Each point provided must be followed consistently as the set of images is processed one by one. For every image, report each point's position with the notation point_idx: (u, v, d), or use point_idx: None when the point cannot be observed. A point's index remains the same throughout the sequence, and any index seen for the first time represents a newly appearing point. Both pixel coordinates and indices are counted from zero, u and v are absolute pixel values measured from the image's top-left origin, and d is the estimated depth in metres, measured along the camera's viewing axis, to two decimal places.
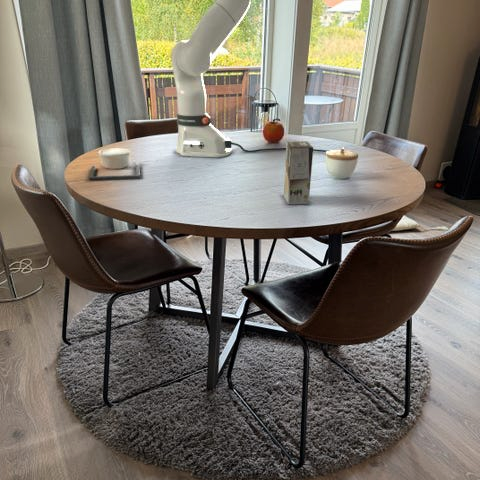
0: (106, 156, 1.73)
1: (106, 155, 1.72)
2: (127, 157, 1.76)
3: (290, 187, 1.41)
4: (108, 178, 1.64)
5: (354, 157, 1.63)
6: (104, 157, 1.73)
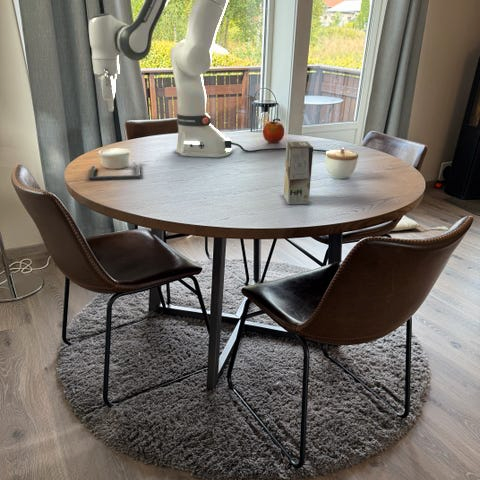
0: (106, 156, 1.73)
1: (106, 155, 1.72)
2: (127, 157, 1.76)
3: (290, 187, 1.41)
4: (108, 178, 1.64)
5: (354, 157, 1.63)
6: (104, 157, 1.73)
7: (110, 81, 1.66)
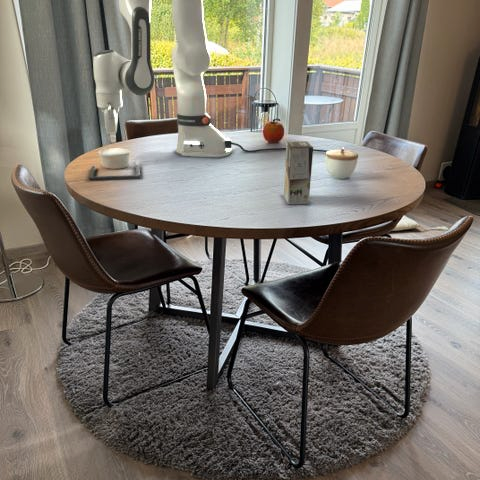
0: (106, 156, 1.73)
1: (106, 155, 1.72)
2: (127, 157, 1.76)
3: (290, 187, 1.41)
4: (108, 178, 1.64)
5: (354, 157, 1.63)
6: (104, 157, 1.73)
7: (113, 115, 1.72)
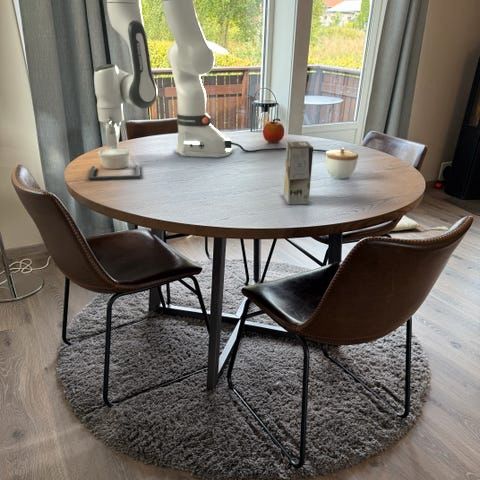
0: (106, 156, 1.73)
1: (106, 155, 1.72)
2: (127, 157, 1.76)
3: (290, 187, 1.41)
4: (108, 178, 1.64)
5: (354, 157, 1.63)
6: (104, 157, 1.73)
7: (114, 130, 1.71)
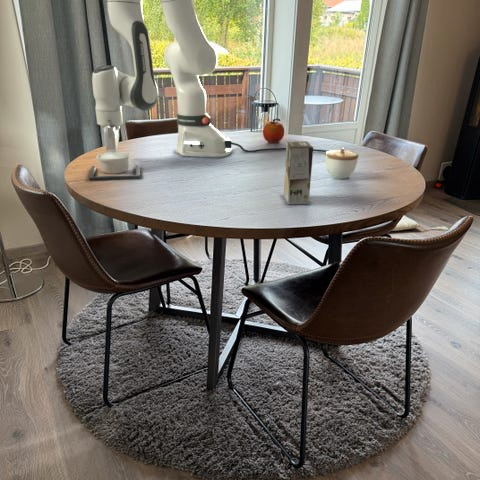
0: (104, 160, 1.67)
1: (104, 159, 1.67)
2: (126, 161, 1.71)
3: (290, 187, 1.41)
4: (108, 178, 1.64)
5: (354, 157, 1.63)
6: (102, 161, 1.68)
7: (113, 133, 1.66)
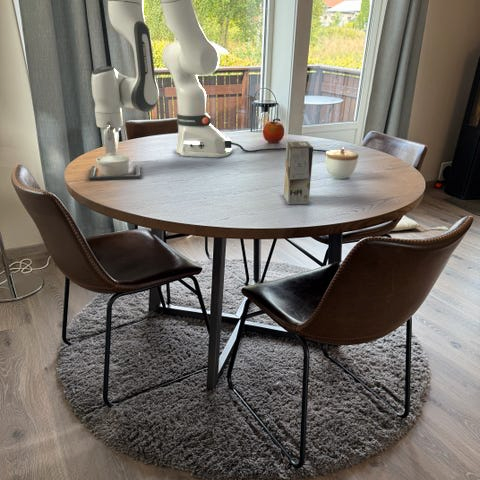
0: (104, 163, 1.64)
1: (104, 162, 1.64)
2: (126, 164, 1.67)
3: (290, 187, 1.41)
4: (108, 178, 1.64)
5: (354, 157, 1.63)
6: (102, 164, 1.64)
7: (113, 136, 1.62)
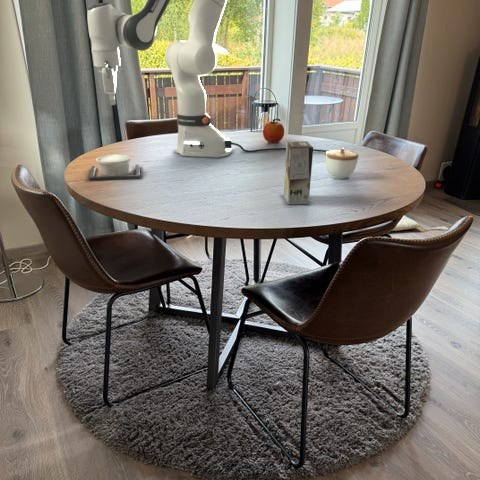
0: (104, 163, 1.64)
1: (104, 162, 1.63)
2: (126, 164, 1.67)
3: (290, 187, 1.41)
4: (108, 178, 1.64)
5: (354, 157, 1.63)
6: (102, 164, 1.64)
7: (111, 73, 1.60)
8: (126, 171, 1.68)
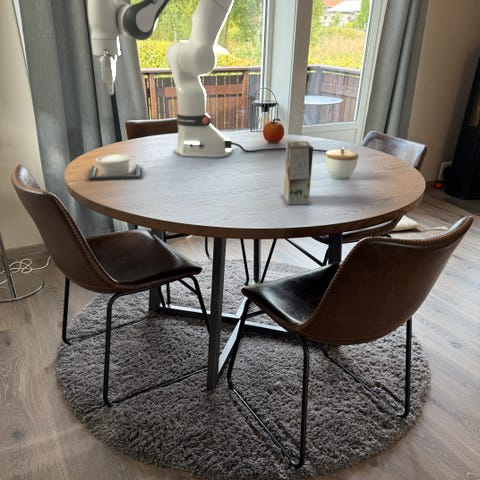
0: (104, 163, 1.64)
1: (104, 162, 1.63)
2: (126, 164, 1.67)
3: (290, 187, 1.41)
4: (108, 178, 1.64)
5: (354, 157, 1.63)
6: (102, 164, 1.64)
7: (110, 62, 1.60)
8: (126, 171, 1.68)
